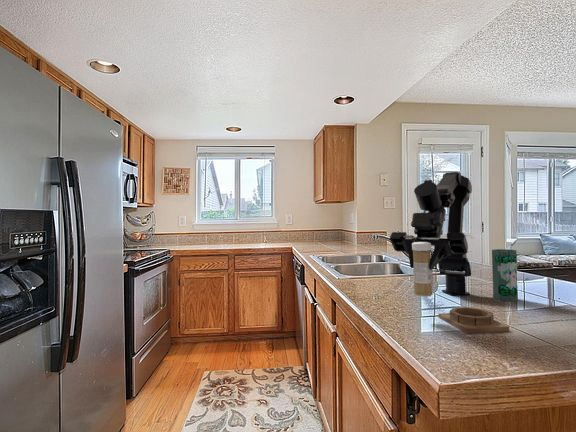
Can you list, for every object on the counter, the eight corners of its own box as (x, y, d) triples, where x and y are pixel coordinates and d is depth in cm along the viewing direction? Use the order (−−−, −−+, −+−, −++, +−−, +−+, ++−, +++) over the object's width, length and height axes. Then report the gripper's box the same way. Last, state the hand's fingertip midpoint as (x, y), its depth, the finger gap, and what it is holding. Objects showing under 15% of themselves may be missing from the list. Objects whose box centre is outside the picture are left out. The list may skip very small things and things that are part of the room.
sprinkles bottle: (422, 291, 89) (420, 241, 89) (436, 295, 85) (435, 242, 85) (409, 294, 87) (408, 242, 87) (424, 297, 83) (422, 243, 83)
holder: (438, 317, 87) (438, 306, 87) (475, 315, 88) (475, 304, 88) (466, 333, 75) (466, 320, 75) (509, 330, 76) (508, 318, 76)
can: (505, 302, 100) (503, 251, 100) (489, 297, 106) (487, 249, 106) (522, 300, 101) (521, 250, 101) (505, 296, 107) (504, 248, 107)
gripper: (390, 203, 95) (375, 246, 86) (464, 200, 83) (454, 249, 75) (401, 229, 101) (388, 272, 93) (471, 230, 89) (463, 278, 81)
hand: (420, 267), depth 85 cm, fingers closed on sprinkles bottle, 4 cm apart
